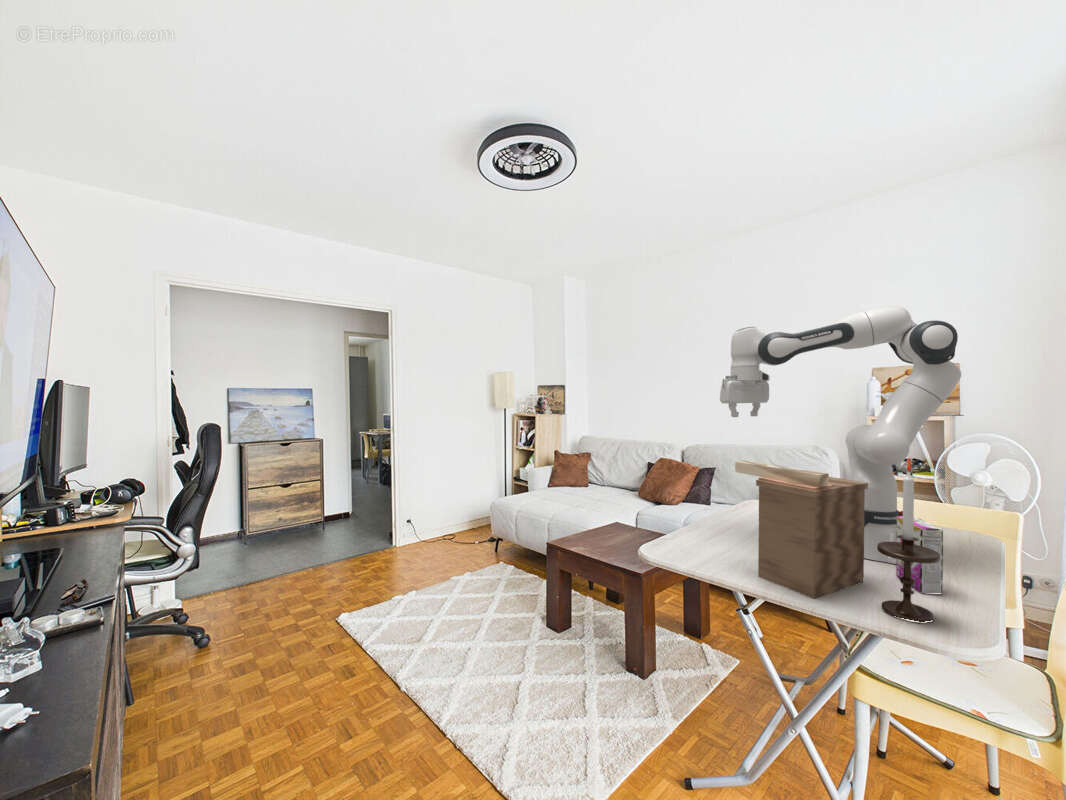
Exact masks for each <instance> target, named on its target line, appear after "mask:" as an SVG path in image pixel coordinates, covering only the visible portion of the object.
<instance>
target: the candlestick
mask: <svg viewBox="0 0 1066 800" xmlns="http://www.w3.org/2000/svg"><path fill="white" fill-rule="evenodd" d="M906 463H907V465H906V471H907V472H906V475H905V477H903V480H902V486H903V487H902V511H903V535H898V536H897V537H898V538H900V539H902V543H901V542H881V543H878V548H877V549H878V551H879V552H880V553H882V554H884V555H886V556H889V557H892V558H896V559H899V560H902V561H904V576H902V577H900V578H899V577H898V579H899V582H900V583H901V584H902V588H900V589H899V590H900V592H901V593H902V595H903V596H902V600H891V599H890V600H885V601H882V603H881V610H882V609H883V610H884V611H883V610H882V611H883V612H884V613H886V614H887V615H888V614H889V615H888V616H890V615H891V616H890V617H892V616H896V617H899V618H904V619H909V620H914V621H919V622H925V621H931V620H933V621H934V619H933V618H934V614H933V613H932V612H931V611H930V610H928V609H927V608H926V607H923V606H921V605H917V604H915V603H913V602H912V595H914V594H915V591H914V590H912V589H913V587H912V586H913V585H914V584H915V580H914V579H913V578H911V562H917V563H936V562H939V561H940V554H939V553H938V552H936V551H934V550H932V549H929V548H926V547H922V546H918V545H914V541H919V539H918V538H915V537H913V521H914V517H915V516H914V514H915V513H914V510H915V509H914V508H915V507H914V505H915V499H914V498H915V496H914V495H915V478H914V477H912V475H911V471H912V470H911V469H912V462H911V457H908V459H907V460H906Z"/></svg>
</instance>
